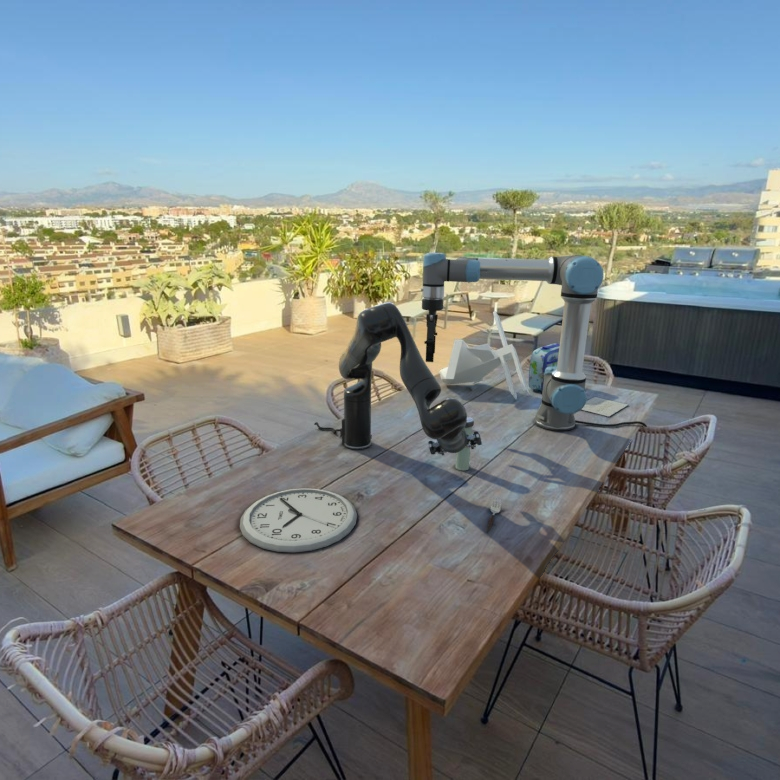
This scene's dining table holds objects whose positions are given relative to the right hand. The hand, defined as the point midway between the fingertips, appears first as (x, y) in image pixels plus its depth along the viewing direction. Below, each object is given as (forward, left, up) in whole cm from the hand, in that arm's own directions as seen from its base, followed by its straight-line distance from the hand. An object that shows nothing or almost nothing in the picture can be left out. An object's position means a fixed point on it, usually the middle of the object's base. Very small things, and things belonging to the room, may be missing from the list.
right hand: (430, 357), depth 190 cm
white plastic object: (-22, -50, -28) cm, 61 cm away
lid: (-13, +32, -12) cm, 36 cm away
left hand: (-10, +46, -15) cm, 50 cm away
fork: (-20, +62, -28) cm, 71 cm away
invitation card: (-73, -38, -28) cm, 87 cm away
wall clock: (+30, +69, -28) cm, 80 cm away
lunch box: (-55, -63, -28) cm, 89 cm away
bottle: (-13, +32, -28) cm, 44 cm away
